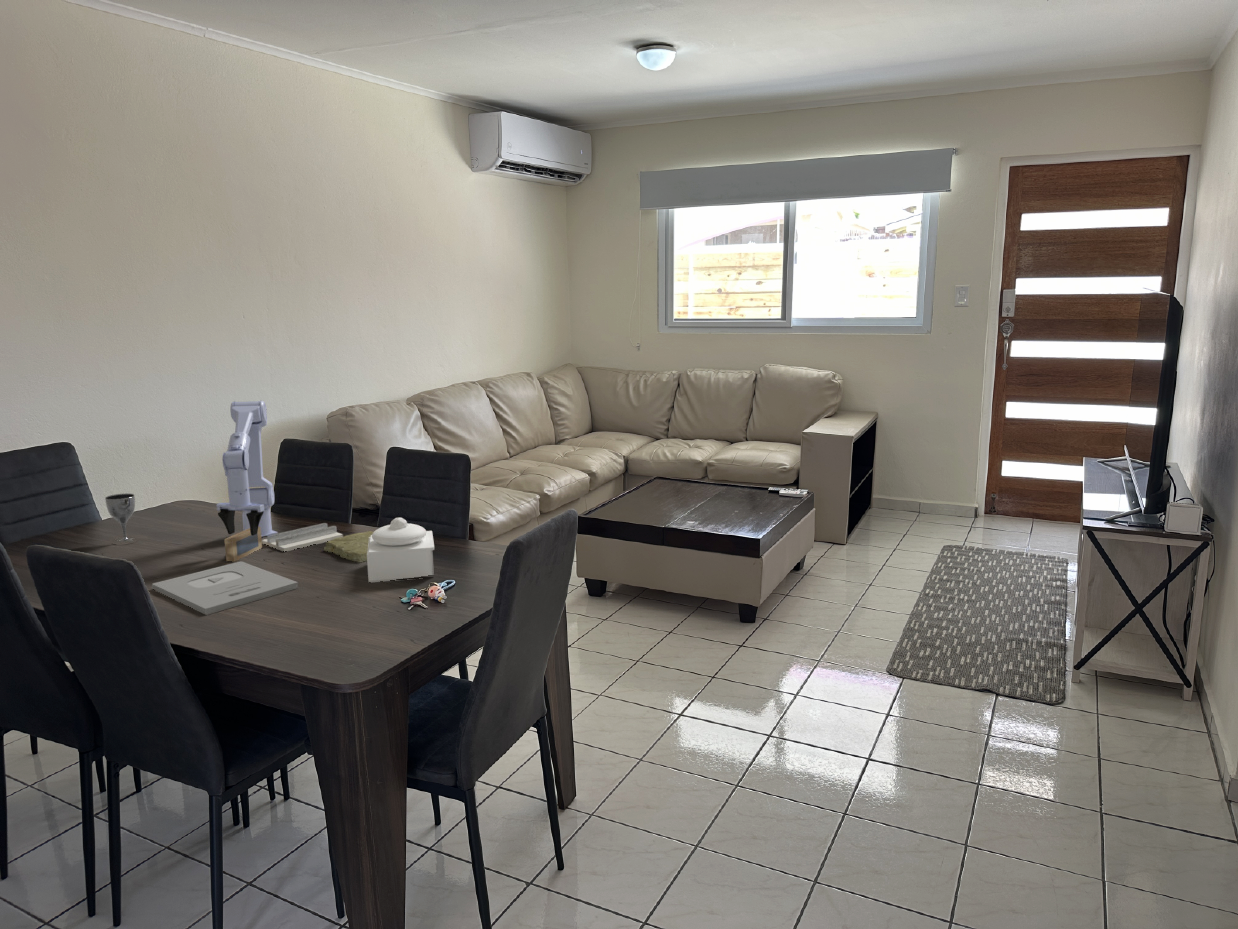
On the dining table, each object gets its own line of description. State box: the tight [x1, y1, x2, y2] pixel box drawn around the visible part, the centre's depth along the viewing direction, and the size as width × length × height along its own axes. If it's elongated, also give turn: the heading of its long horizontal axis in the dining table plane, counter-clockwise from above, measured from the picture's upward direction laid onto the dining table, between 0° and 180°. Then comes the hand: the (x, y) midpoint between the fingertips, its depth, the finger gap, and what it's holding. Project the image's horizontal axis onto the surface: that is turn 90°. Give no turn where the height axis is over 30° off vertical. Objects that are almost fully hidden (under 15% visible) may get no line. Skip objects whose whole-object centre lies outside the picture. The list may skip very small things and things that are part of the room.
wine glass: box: [105, 492, 136, 541], centre depth 268 cm, size 8×8×15 cm
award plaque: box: [151, 560, 299, 616], centre depth 225 cm, size 25×30×2 cm
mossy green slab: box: [323, 530, 374, 563], centre depth 259 cm, size 19×20×4 cm
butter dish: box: [366, 517, 435, 583], centre depth 238 cm, size 18×18×16 cm
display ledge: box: [262, 522, 344, 553], centre depth 269 cm, size 14×20×3 cm
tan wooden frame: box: [223, 527, 263, 563], centre depth 255 cm, size 3×14×7 cm, turn 169°
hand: (242, 534), depth 254 cm, fingers open, 7 cm apart
